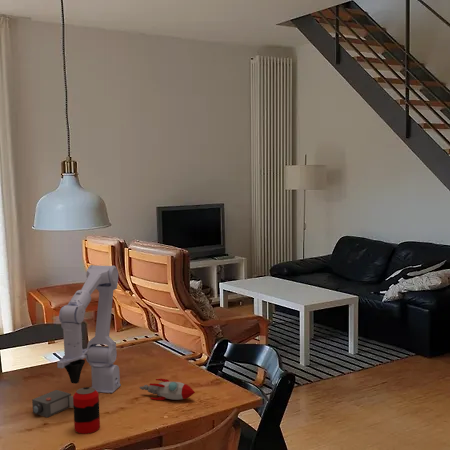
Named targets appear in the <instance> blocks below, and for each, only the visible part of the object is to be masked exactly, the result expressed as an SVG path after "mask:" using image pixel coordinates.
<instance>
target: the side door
mask: <svg viewBox="0 0 450 450" xmlns="http://www.w3.org/2000/svg"><path fill="white" fill-rule="evenodd" d="M71 408H72V409H74V406H73V395H71V396H69V408H68V409H71Z"/></svg>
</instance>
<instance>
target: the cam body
mask: <svg viewBox="0 0 450 450" xmlns="http://www.w3.org/2000/svg"><path fill="white" fill-rule="evenodd" d="M69 396H72V394H71V393H69V392H66V391H62V390H58V389H55V390H52V391H50V392H48V393H45V394H42V395H40V396H37V397H34V398H33V399H32V400H31V401H32V413H33V414H35V415H38V416H41V417H43V418H50V417H52V416H54V415H56V414H58V413H61V412H63V411H65V410H68V409H70V408H69Z"/></svg>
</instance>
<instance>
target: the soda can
mask: <svg viewBox="0 0 450 450" xmlns="http://www.w3.org/2000/svg"><path fill="white" fill-rule="evenodd" d="M99 393H100V392H97V391H96V390H95V389H94V388H92V386H89V387H81V388H78V389H77V390H76V391H75V392H74V394H73V395H72V396H73V406H74V408H73V424H74V425H73V427H74V431H75V432H76V433H77V432H78V434H80V433H81V434H82V435H86V434H87V435H88V433H89V434H92V433H95V432H97V431H98V430H99V429H100V428H101V419H100V417H101V416H100V398H99V397H100V396H99Z"/></svg>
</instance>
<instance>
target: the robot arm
mask: <svg viewBox="0 0 450 450" xmlns="http://www.w3.org/2000/svg"><path fill="white" fill-rule="evenodd" d="M86 269H87V270H86V279H85V282H84V284H83V285H82V287H81V289H78V290H76V291H75V293H74V294H73V296H72V297H71V299H70V300H69V302H68V303H67V304H65V305H63V306H62V307H61V308H60V310H59V314H58V320H59V322H60V325H61V326H60V327H61V329H62V332H63V333H62V334H63V348H64V349H63V350H64V355H63V356H62V357H61V359H60V360H58V361H57V362H56V363H57V369H65V370H66V372H67V373H68V374H67V375H68V376H69V380H70V383H71V384H75V385H77V384H78V383H80V379H81V372H82V370H83V367H84V365H85V364H86V362H87V363H88V364H89V366H90V367H91V368H90V369H91V372H90V373H91V387H92V388H94V389H95V390H96V391H97V392H98V393H108V394H113V393H114V392H115V391H116V390H117V389H119V387H122V384H121V380H120V379H121V378H120V367H119V365H117V364H114V363H115V362H116V360H117V356H118V355H117V353H118V352H117V342H116V341H115V340H114V339H112V338H111V337H110V330H111V321H112V311H113V310H112V309H113V299H114V291H115V290H117V288H118V284H119V271H118V268H117V267H116V265H93V264H91V265H89V266H88V268H86ZM95 290H97V291H98V302H97V313H96V323H95V324H96V325H95V333H94V337H92V338H91V339H90V340H89V341H88V343H87V347H86V348H83V334H82V323H83V321H84V319H85V314H86V312H87V311H86V309H87V308H88V306H89V304H90V303H91V302H92V294H93V292H94V291H95ZM85 360H86V361H85Z"/></svg>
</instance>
